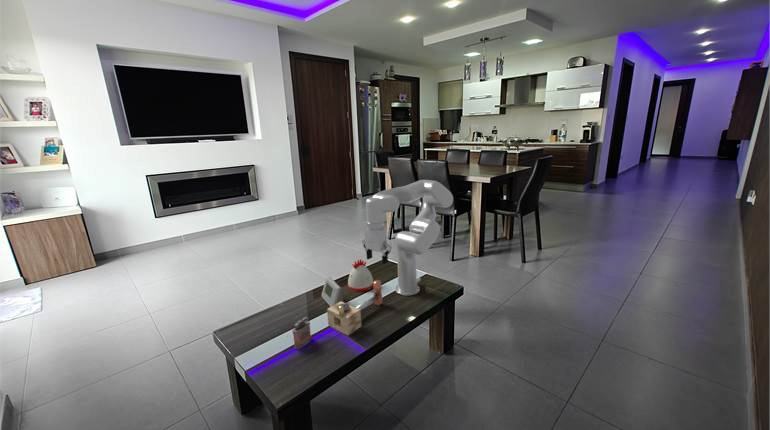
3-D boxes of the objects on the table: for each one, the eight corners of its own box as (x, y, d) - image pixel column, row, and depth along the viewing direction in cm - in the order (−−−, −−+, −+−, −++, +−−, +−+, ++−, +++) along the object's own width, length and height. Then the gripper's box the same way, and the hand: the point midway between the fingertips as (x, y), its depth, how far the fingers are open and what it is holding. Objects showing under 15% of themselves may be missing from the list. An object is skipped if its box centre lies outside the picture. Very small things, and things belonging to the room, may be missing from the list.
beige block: (342, 317, 144) (340, 301, 142) (361, 326, 136) (360, 309, 134) (328, 325, 138) (327, 308, 136) (347, 335, 130) (346, 318, 128)
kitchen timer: (343, 284, 176) (341, 259, 172) (364, 277, 183) (363, 253, 180) (356, 294, 165) (355, 267, 161) (378, 286, 173) (377, 260, 169)
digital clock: (321, 296, 163) (319, 277, 161) (338, 293, 166) (337, 274, 164) (326, 312, 149) (324, 291, 146) (345, 308, 151) (344, 287, 149)
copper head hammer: (377, 300, 156) (376, 279, 153) (383, 303, 154) (382, 281, 151) (350, 318, 142) (348, 294, 139) (356, 321, 140) (354, 297, 137)
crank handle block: (349, 305, 138) (349, 294, 136) (347, 318, 128) (347, 307, 126) (338, 305, 138) (337, 295, 136) (335, 319, 127) (334, 308, 126)
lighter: (298, 350, 123) (295, 327, 120) (292, 347, 124) (289, 324, 122) (313, 338, 129) (311, 316, 127) (307, 336, 131) (305, 314, 129)
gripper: (355, 224, 146) (358, 259, 150) (384, 230, 135) (386, 267, 139) (367, 220, 152) (369, 254, 156) (395, 226, 141) (396, 262, 145)
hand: (377, 260), depth 148 cm, fingers open, 9 cm apart
